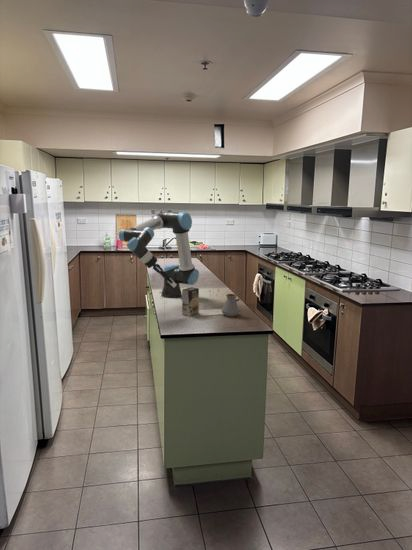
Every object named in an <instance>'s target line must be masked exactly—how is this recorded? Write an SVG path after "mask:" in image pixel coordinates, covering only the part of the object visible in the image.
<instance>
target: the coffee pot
mask: <svg viewBox="0 0 412 550" xmlns="http://www.w3.org/2000/svg"><path fill="white" fill-rule="evenodd" d="M225 296H226V300H225V302H224V304H223V306H222V308H221V309H222V313H223V314H224V315H223V316H226V317H230V318H231V317H232V318H233V317H236V316H238V315H239V313H240V312H241V311H240V308H239V305H238V303H241V299H240V298H237V297H238V295H237V294H235V293H227V294H226V295H225ZM236 298H237V299H236Z"/></svg>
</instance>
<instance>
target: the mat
mask: <svg viewBox="0 0 412 550" xmlns="http://www.w3.org/2000/svg"><path fill="white" fill-rule="evenodd" d="M197 314H198V315H199V316H201V317H207V316H225V315H224V314H223V313H222V308H213V309H211V308H210V309H199V313H197Z"/></svg>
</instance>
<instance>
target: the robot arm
mask: <svg viewBox="0 0 412 550" xmlns="http://www.w3.org/2000/svg"><path fill="white" fill-rule="evenodd" d="M192 224H193V218H192V216H191V215H190V213H189V212H186V211H173V210H171V211H169V210H168V211H164V212H160V213H158V214H155V215H153V216H152V217H151V218H150V219H148V220H146V221H144V222H141V223H139V224H137V225H135V226H132V227H130V228H122V229H120V230H119V232H118V239H119V240H120V241H121V242H126V248H127V249H129V251H130V252H132V254H133V255H134V256H136V257H137V258H138V259H139V262H142V264H144V266H145V267H147V268H148V269H151V268H152V269H153V270H154V271H156V273H158V274H159V275H160V276H161V277H163V287H162V290H161V297H162V298H166V299H175V298H176V299H177V298H182V289H181V286H180V284H183V285H188V286H189V285H190V286H193V285H195V284H197V282H198V280H199V276H200V271H199V270H198V269H197V268H196V266H195V264H193V261H192V260H193V259H192V254H191V245H190V240H189V232H190V230H191V229H192V227H193V226H192ZM161 229H171V230H172V233H173V234H174V235H175V240H176V247H177V251H178V252H177V253H178V259H179V264H171V265H170V264H169V265H166V266H164V268H162V267H161V265H160V264H158V263H157V262H158V258H157V257H156V256H155V255H153V253H152V252H151V251H150V250H149V249H148V248H147V246H148V245H149V243H150V242H151V241H152V240H153V238H154V237H155V232H154V231H155V230H161Z"/></svg>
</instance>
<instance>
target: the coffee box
mask: <svg viewBox="0 0 412 550" xmlns="http://www.w3.org/2000/svg"><path fill="white" fill-rule="evenodd" d="M199 291H200V288H198V287H193V286H192V287H187V288H183V289H181V292H182V296H181V300H182V301H181V305H182V306H181V307H182V308H181V310H182V311H181V313H182V315H183V316H187V317H191V316H194V315H196V314H198V313H199V310H200V308H199V305H200V303H199V301H200V299H199V297H200V292H199Z"/></svg>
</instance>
